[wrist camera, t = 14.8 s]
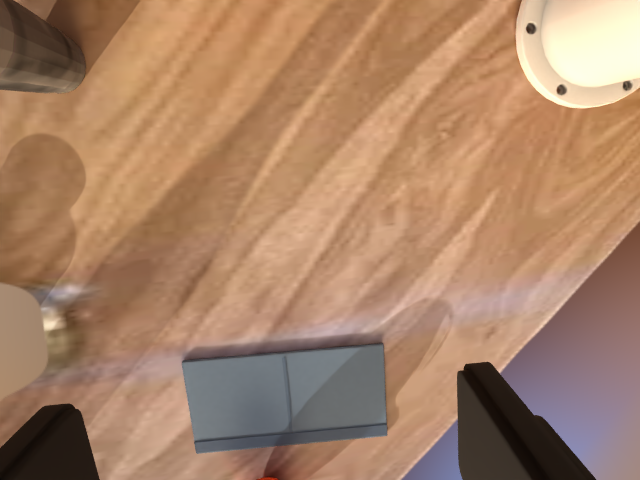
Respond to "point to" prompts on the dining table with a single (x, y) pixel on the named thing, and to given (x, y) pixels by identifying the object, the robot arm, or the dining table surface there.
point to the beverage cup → (36, 53)
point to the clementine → (267, 478)
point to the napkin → (286, 397)
